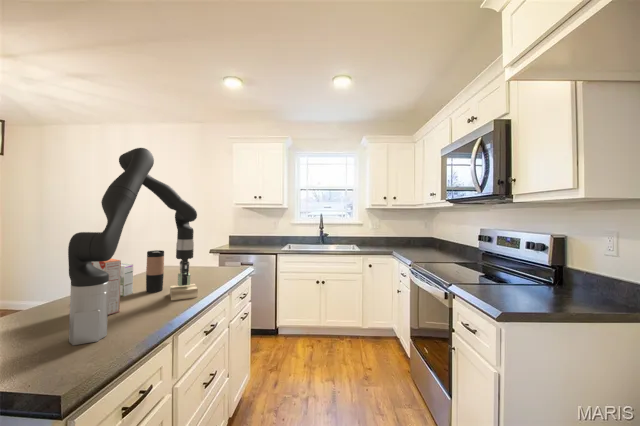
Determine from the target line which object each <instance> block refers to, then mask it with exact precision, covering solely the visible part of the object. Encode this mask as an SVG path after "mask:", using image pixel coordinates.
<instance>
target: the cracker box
mask: <svg viewBox="0 0 640 426" xmlns="http://www.w3.org/2000/svg"><path fill="white" fill-rule="evenodd" d="M121 264H122V260H121V259H115V258H111V259H110V260H108V261H102V262H92V265H93V266H95V267H96V268H98V269H100V270H103V271H106V272H107V273H108V274H109V286H108V316H110V315H113V314H116V313H119V312H120V305H121V301H120V300H121V296H120V272H121Z"/></svg>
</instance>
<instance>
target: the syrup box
mask: <svg viewBox="0 0 640 426" xmlns="http://www.w3.org/2000/svg"><path fill="white" fill-rule="evenodd" d="M133 289H134V263H121V272H120V297H127V296H129V295H131V294H133V291H134V290H133Z"/></svg>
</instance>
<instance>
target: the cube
mask: <svg viewBox="0 0 640 426" xmlns="http://www.w3.org/2000/svg"><path fill="white" fill-rule="evenodd" d="M184 274H186V273H184ZM190 284H191V273H190V272H188V277H187V285H190ZM177 285H178V286H187V285H182V273H178V274H177Z"/></svg>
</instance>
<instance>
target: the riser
mask: <svg viewBox="0 0 640 426" xmlns="http://www.w3.org/2000/svg"><path fill="white" fill-rule="evenodd" d="M198 294H199V291H198V287H197V285H196V283H190V285H187V286H178V284H177V285H174V284H173V285H170V287H169V295H170V296H169V297H170V300H171V301H178V300H186V299H193V298H194V299H196V298H198V296H199V295H198Z"/></svg>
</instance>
